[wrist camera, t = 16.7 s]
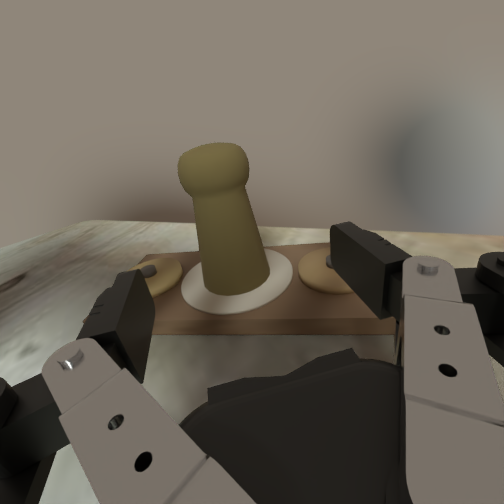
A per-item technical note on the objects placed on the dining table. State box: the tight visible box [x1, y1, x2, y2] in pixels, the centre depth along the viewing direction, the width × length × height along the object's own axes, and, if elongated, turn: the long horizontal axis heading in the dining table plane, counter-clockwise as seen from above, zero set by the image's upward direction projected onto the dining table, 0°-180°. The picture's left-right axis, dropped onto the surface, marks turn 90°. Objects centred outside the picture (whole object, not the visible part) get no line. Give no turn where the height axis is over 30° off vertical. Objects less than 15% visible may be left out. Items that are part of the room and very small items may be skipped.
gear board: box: [83, 243, 396, 335], centre depth 25 cm, size 24×11×3 cm, turn 81°
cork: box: [178, 143, 270, 296], centre depth 22 cm, size 6×6×11 cm
